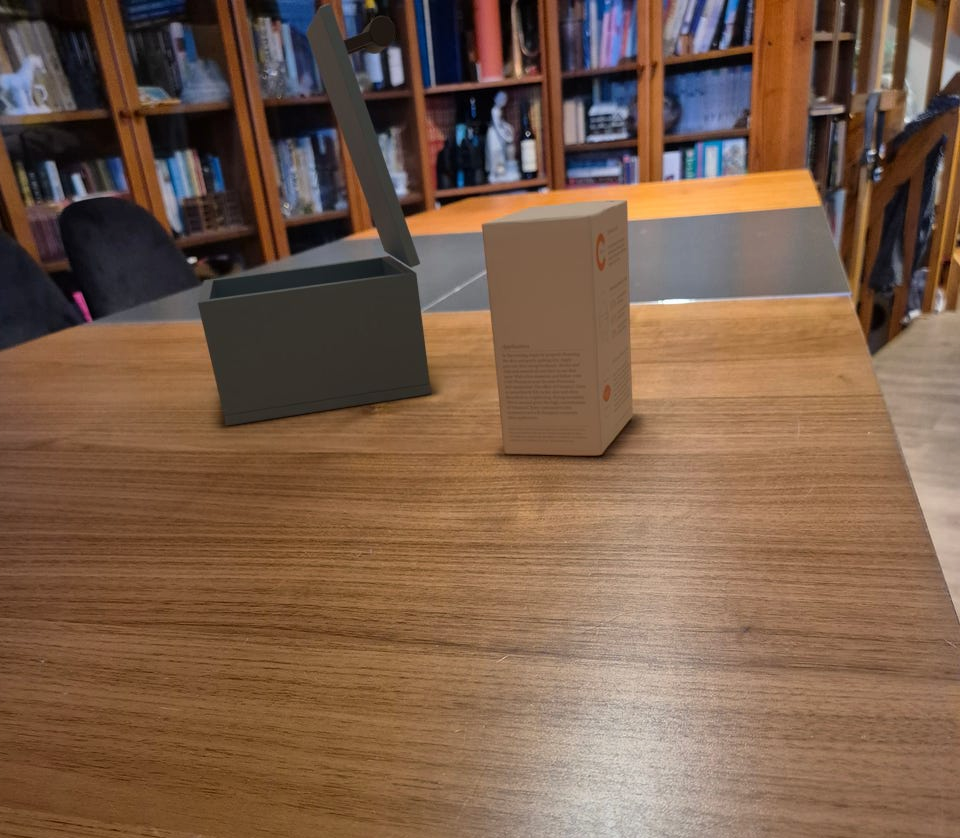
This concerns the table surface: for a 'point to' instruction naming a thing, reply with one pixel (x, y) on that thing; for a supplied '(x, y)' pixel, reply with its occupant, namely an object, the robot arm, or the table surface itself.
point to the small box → (561, 325)
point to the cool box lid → (361, 122)
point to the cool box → (314, 338)
